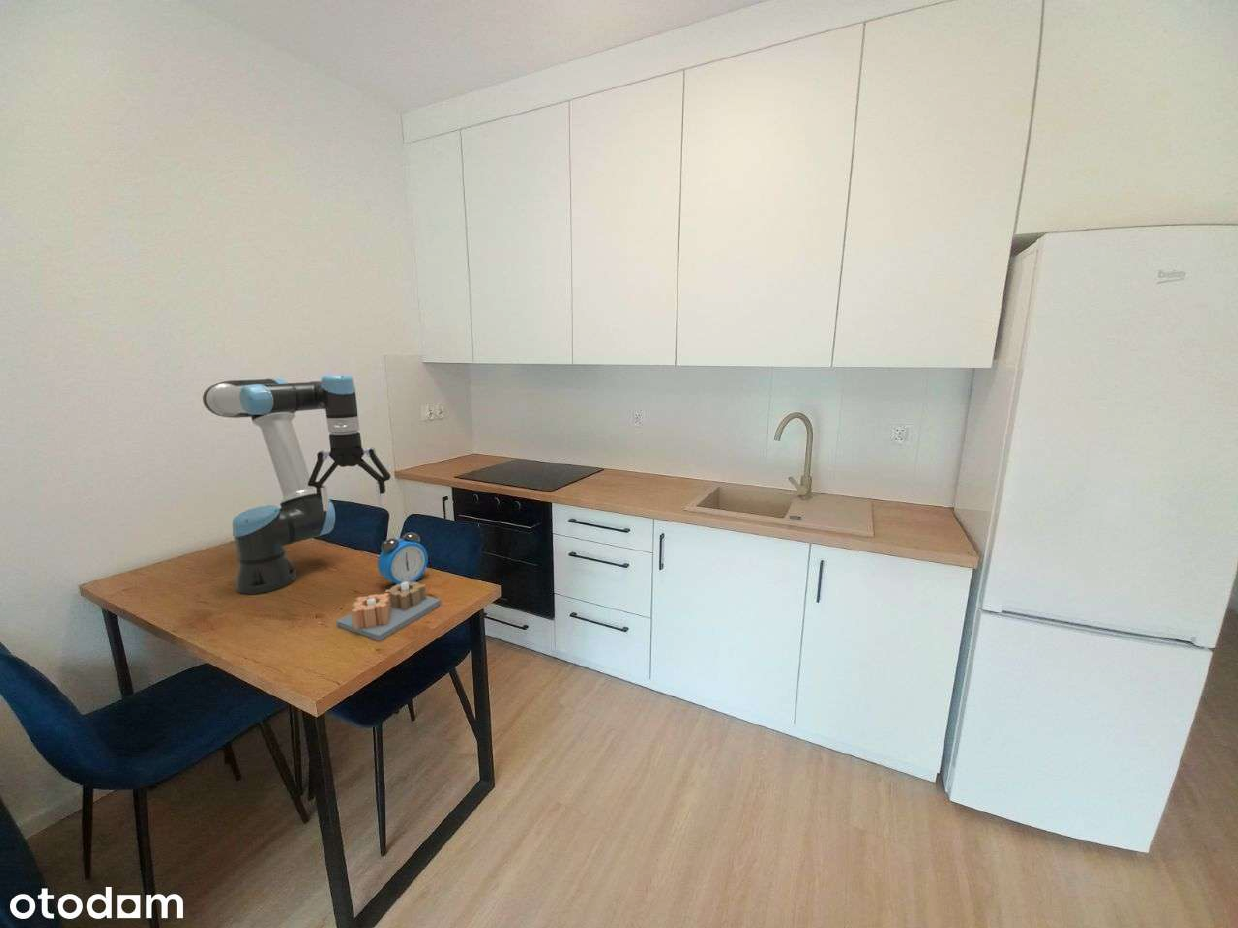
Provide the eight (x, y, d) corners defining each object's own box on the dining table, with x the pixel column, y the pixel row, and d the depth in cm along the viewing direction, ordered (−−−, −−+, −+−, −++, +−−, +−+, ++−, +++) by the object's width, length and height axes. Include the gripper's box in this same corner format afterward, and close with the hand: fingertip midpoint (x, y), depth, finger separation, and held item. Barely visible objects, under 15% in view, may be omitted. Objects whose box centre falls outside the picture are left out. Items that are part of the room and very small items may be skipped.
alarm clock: (390, 592, 145) (385, 544, 141) (379, 586, 148) (374, 540, 145) (430, 576, 155) (425, 531, 152) (419, 571, 159) (414, 527, 155)
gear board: (337, 626, 127) (333, 601, 125) (400, 593, 144) (398, 571, 143) (379, 641, 120) (376, 615, 118) (441, 604, 137) (439, 581, 136)
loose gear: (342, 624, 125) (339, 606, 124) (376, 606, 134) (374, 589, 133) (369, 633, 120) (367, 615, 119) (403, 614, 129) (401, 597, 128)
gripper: (287, 437, 126) (299, 515, 130) (392, 431, 134) (400, 506, 138) (295, 433, 133) (306, 507, 137) (395, 428, 141) (403, 499, 145)
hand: (353, 507), depth 138 cm, fingers open, 13 cm apart
